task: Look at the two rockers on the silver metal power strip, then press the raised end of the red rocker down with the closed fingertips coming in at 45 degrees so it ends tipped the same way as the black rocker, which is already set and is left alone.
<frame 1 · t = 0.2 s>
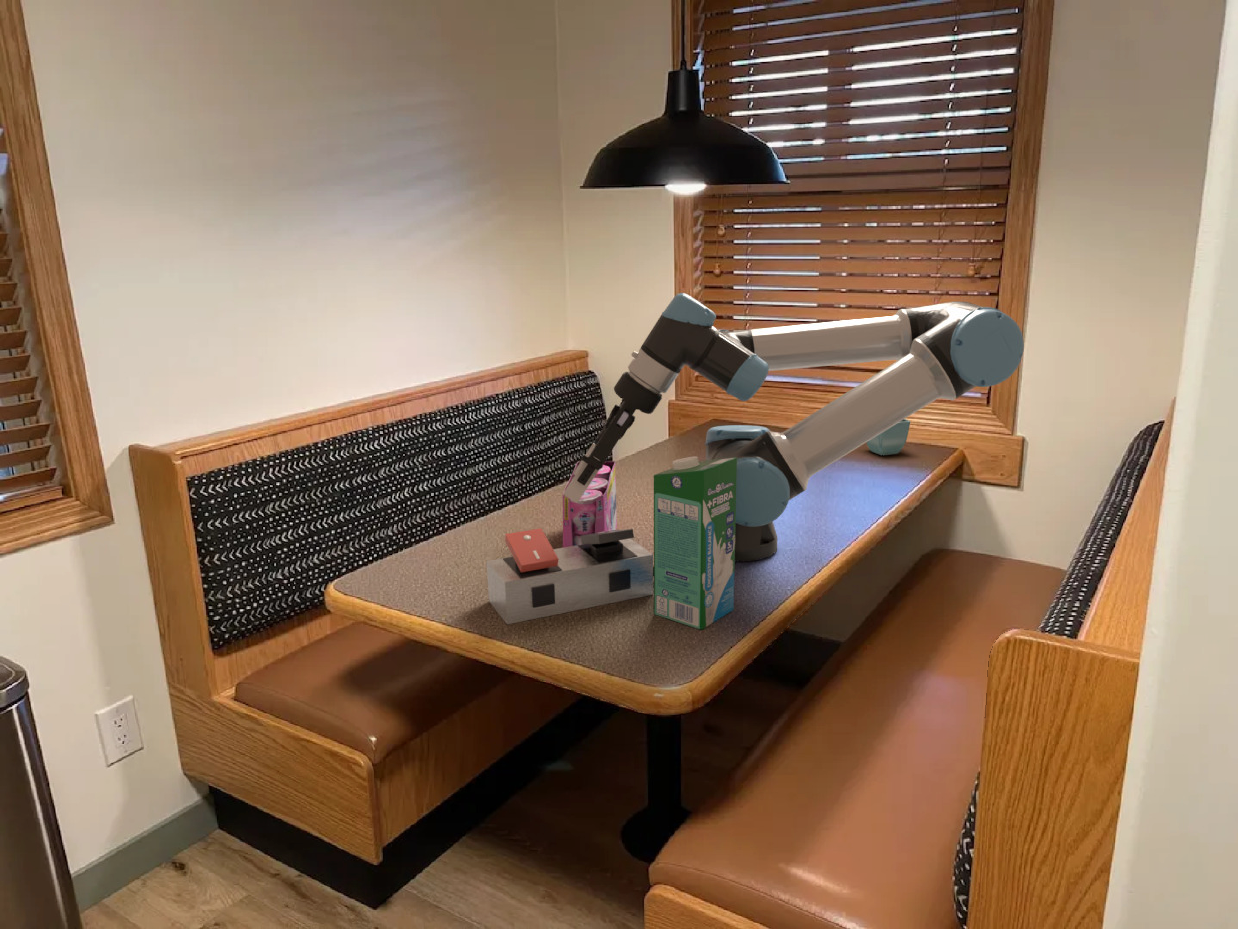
hand: (575, 487, 151), 16 cm above the table, tool tilted 35°, fingers open, 13 cm apart
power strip: (571, 597, 147), on the table
flower pot: (883, 453, 231), on the table
red rocker: (531, 549, 141), point 10 cm above the table, hinge at -19.0°
black rocker: (606, 536, 147), point 10 cm above the table, hinge at 19.0°
milk carton: (693, 613, 141), on the table
gum box: (591, 546, 170), on the table
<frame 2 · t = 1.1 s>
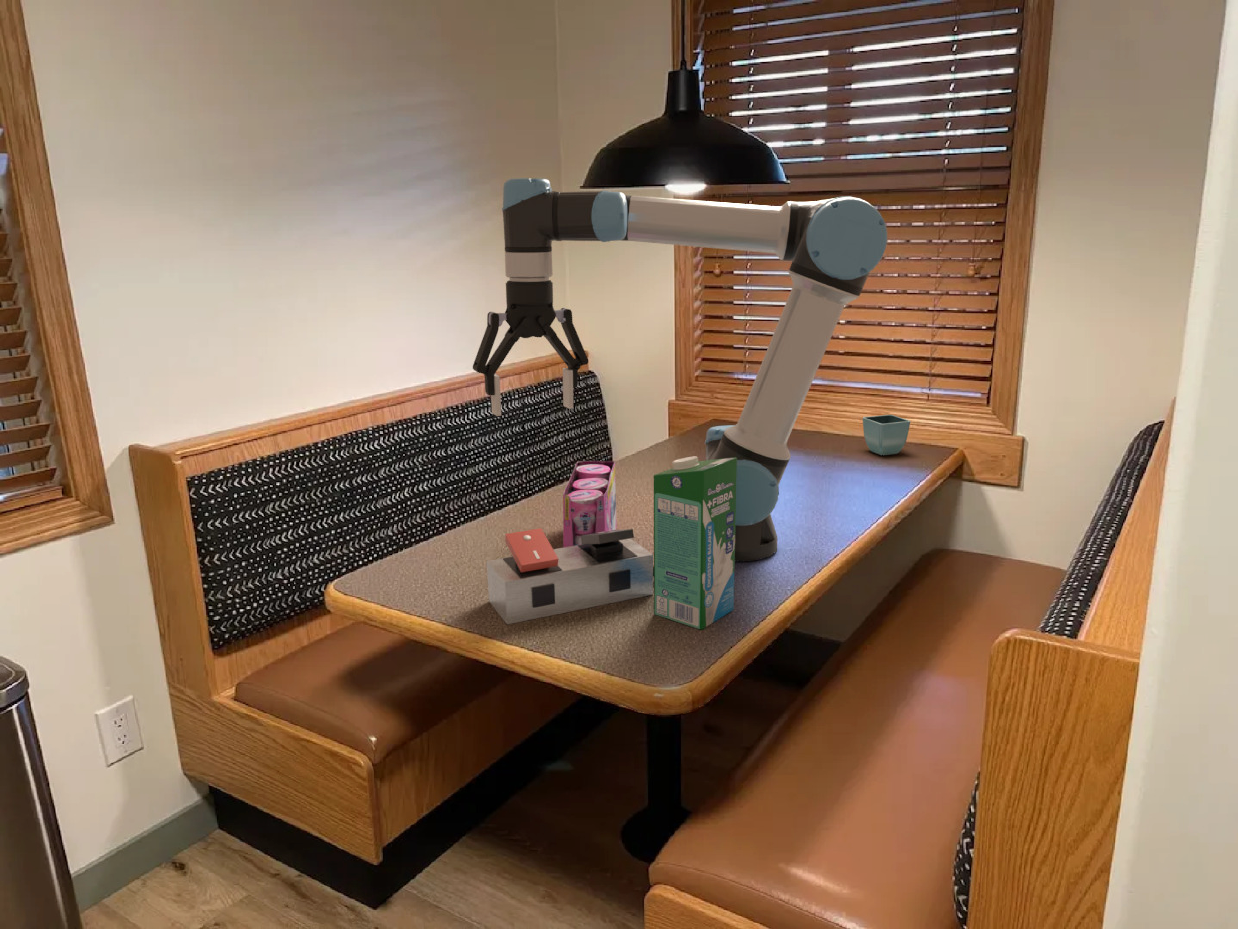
hand: (533, 410, 150), 29 cm above the table, tool pointing down, fingers open, 12 cm apart
nothing on the table moved.
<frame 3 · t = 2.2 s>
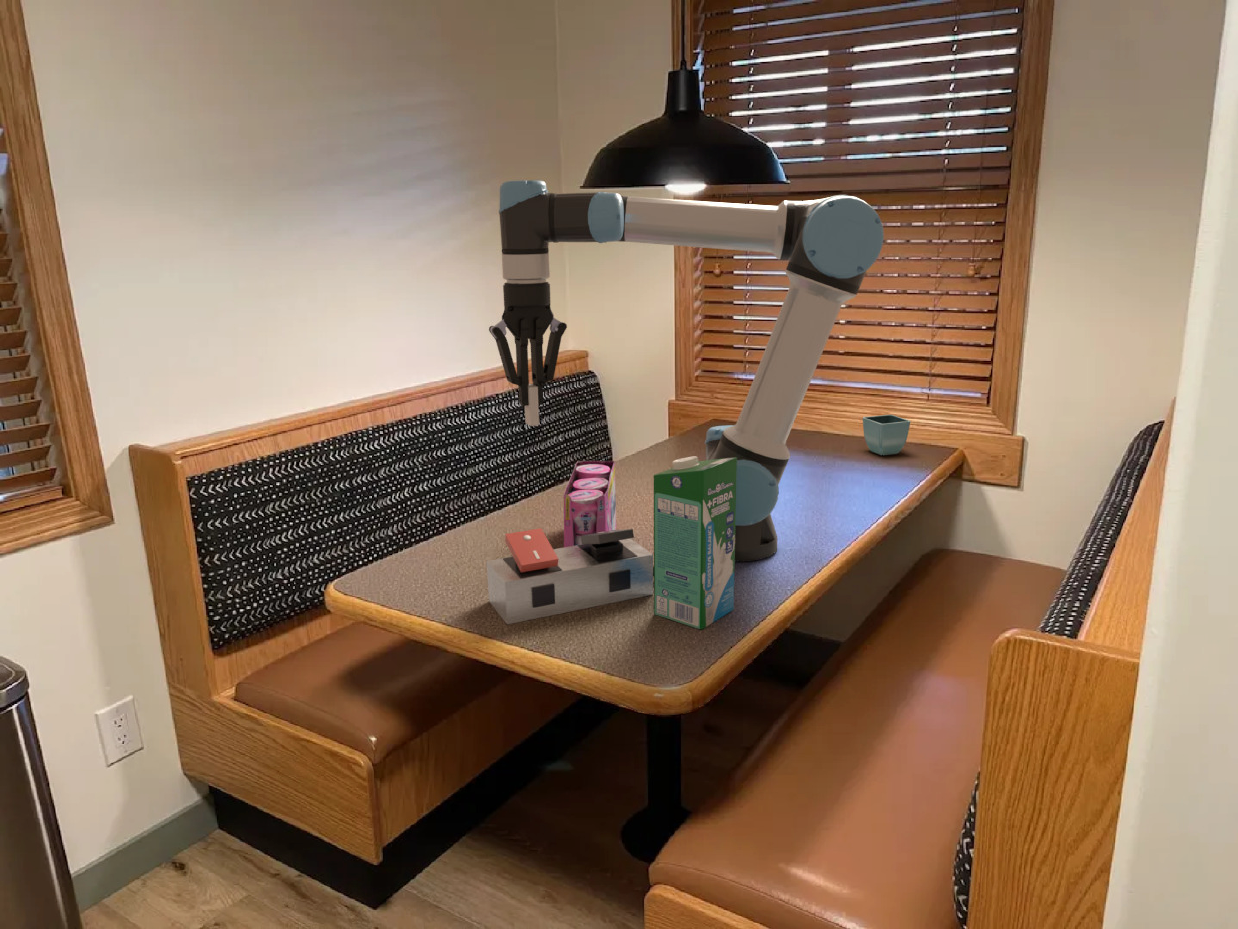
hand: (532, 423, 151), 26 cm above the table, tool pointing down, fingers closed
nothing on the table moved.
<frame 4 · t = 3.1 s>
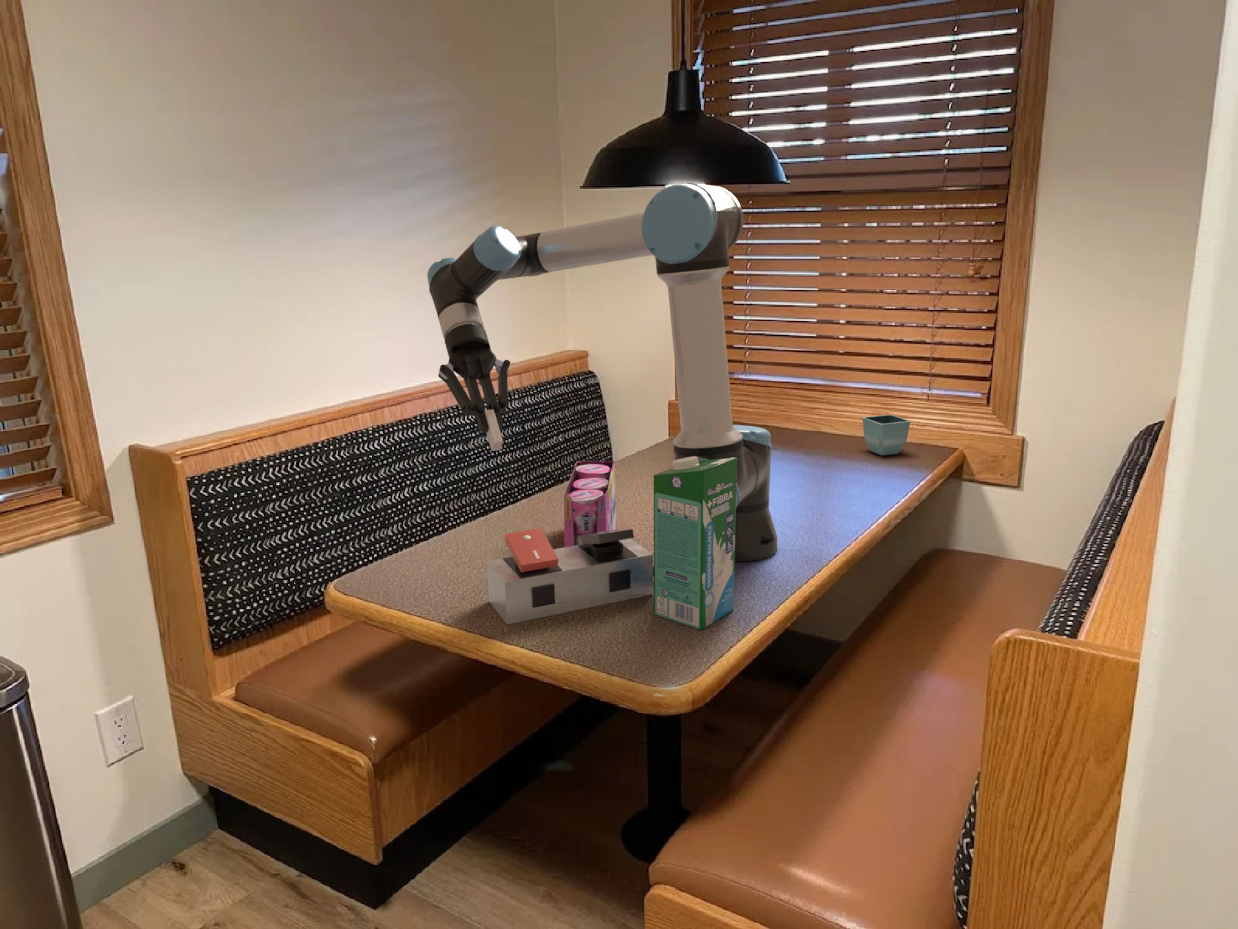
hand: (497, 446, 151), 23 cm above the table, tool tilted 45°, fingers closed
nothing on the table moved.
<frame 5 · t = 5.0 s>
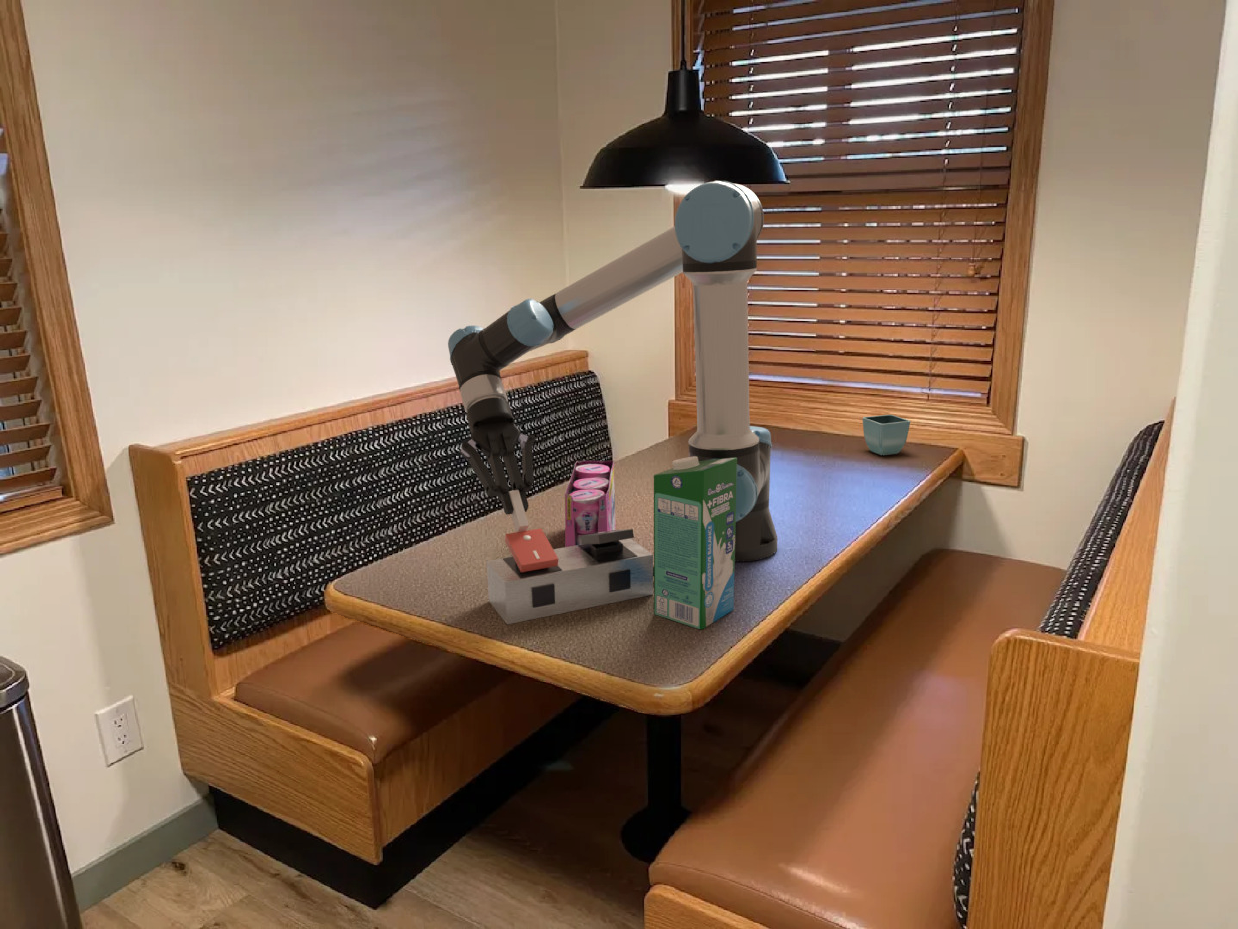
hand: (522, 529, 144), 12 cm above the table, tool tilted 45°, fingers closed
red rocker: (531, 549, 141), point 10 cm above the table, hinge at -18.8°, touching gripper
everything else where it was.
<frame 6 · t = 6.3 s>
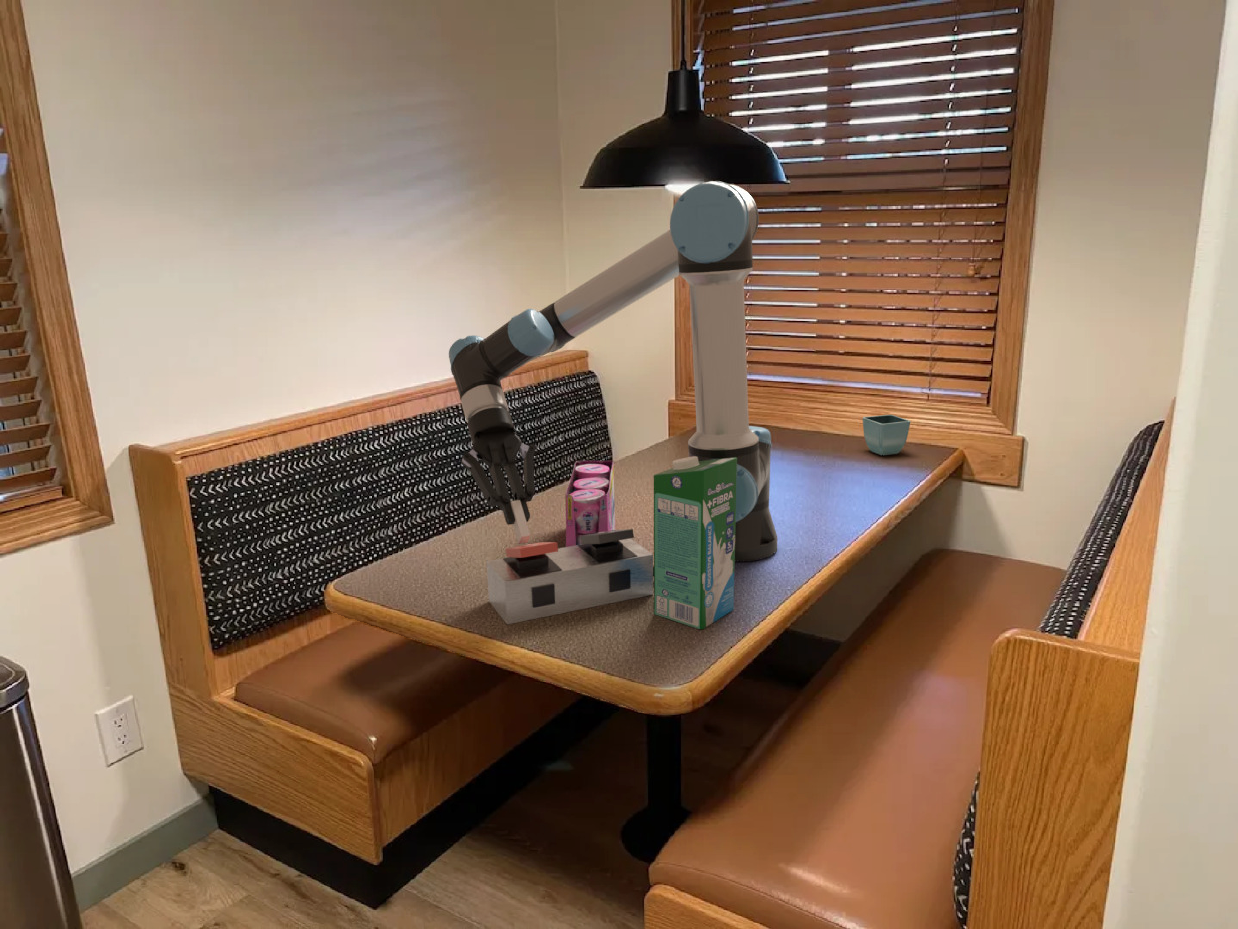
hand: (524, 539, 144), 10 cm above the table, tool tilted 45°, fingers closed
red rocker: (531, 549, 141), point 10 cm above the table, hinge at 18.4°
everything else where it was.
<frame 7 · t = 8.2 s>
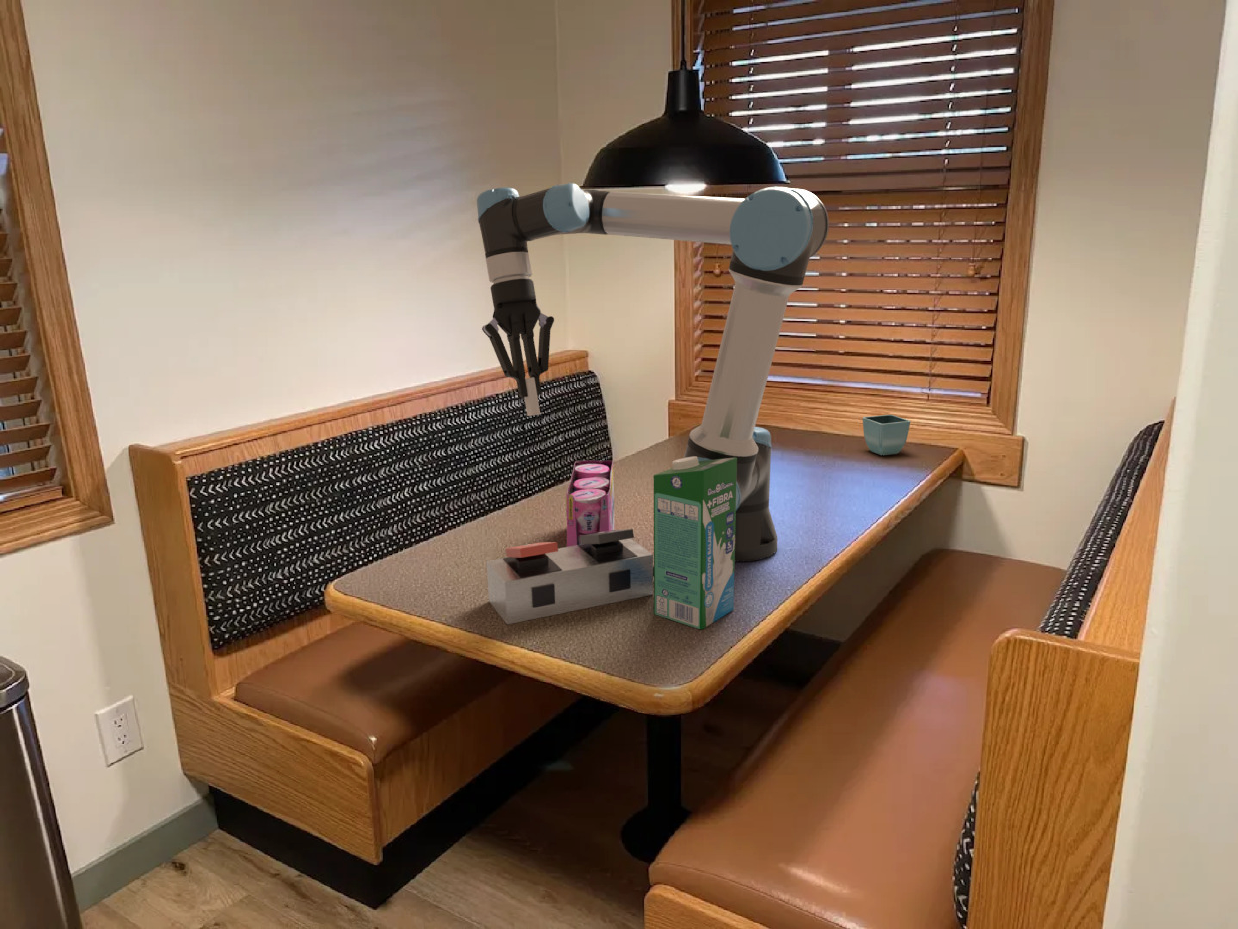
hand: (533, 414, 159), 26 cm above the table, tool pointing down, fingers closed
nothing on the table moved.
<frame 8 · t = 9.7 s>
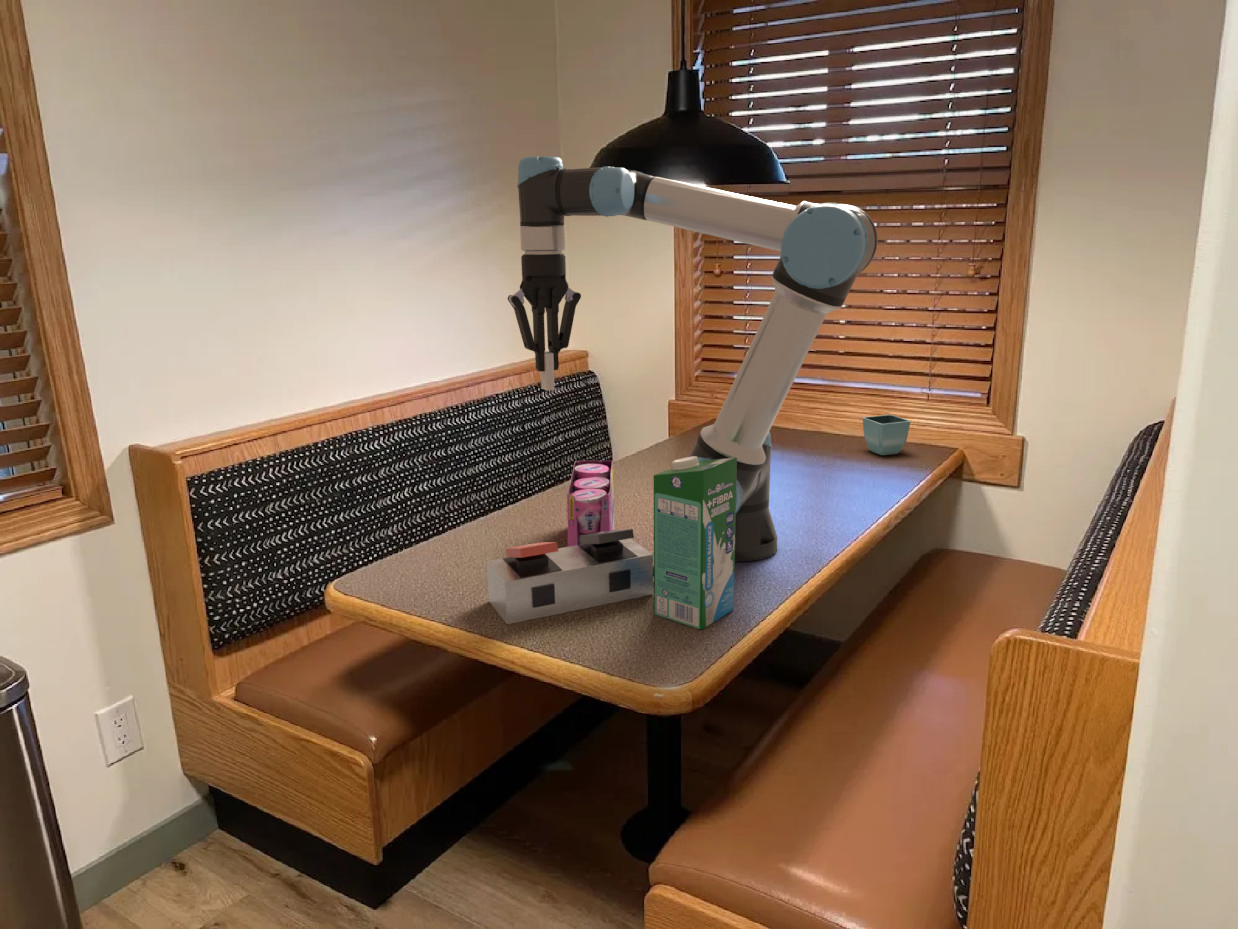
hand: (548, 388, 160), 30 cm above the table, tool pointing down, fingers closed
nothing on the table moved.
at the end: red rocker at +19° (first picture: -19°); black rocker at +19° (first picture: +19°) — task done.
